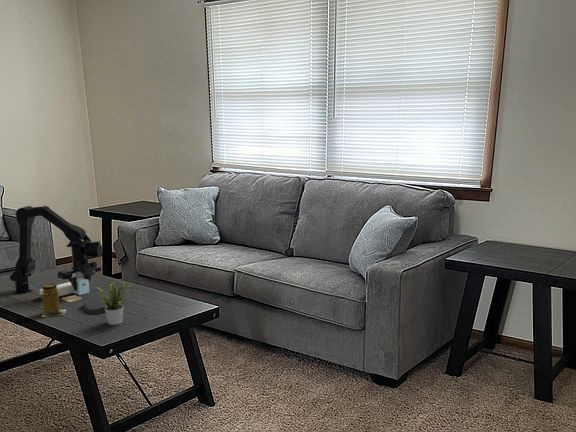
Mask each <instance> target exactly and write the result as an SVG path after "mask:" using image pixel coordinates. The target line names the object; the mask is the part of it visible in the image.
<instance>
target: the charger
mask: <svg viewBox="0 0 576 432" xmlns="http://www.w3.org/2000/svg"><path fill="white" fill-rule="evenodd" d="M76 284H77V291H75V290H74V288H73V292H74V293H73V294H75V295H77V296H82V295H85V294H89V293H90V282H89V280H88V279H85V278H84V277H81V278H77V279H76Z"/></svg>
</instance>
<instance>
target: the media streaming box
mask: <svg viewBox="0 0 576 432" xmlns="http://www.w3.org/2000/svg"><path fill="white" fill-rule="evenodd" d="M103 296H104V297H105V295H103ZM103 296H97V297H93V298H90V299H88V300H84V302H83V308H84V310H85V311H86V313H87V314H89V315H90V314H91V315H97V314H106V312H105V307H106V306H107V305H106V304H105V303H104V302H103V303H101V301H99V300H104V299H103ZM107 296H108V297H109V299H110V295H107ZM105 298H106V297H105ZM121 298H122V297H121ZM121 298H120V299H121ZM106 299H107V298H106ZM110 300H111V299H110ZM104 301H105V300H104ZM107 301H108V299H107ZM120 301H123V299H121V300H120ZM108 302H109V301H108ZM109 303H110V302H109ZM119 304H120V305H123V306H124V301H123V302H122V303H119ZM110 305H111V303H110Z"/></svg>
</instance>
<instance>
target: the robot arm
mask: <svg viewBox="0 0 576 432" xmlns="http://www.w3.org/2000/svg"><path fill="white" fill-rule="evenodd" d="M40 216H41V217H42V218H44V219H46V221H48V222H50V224H52V225H53V226H55V227H56V228H57V229H59V230H61V232H62V233H63V234H64V235H65V238H67V239H68V240H69V243H68V244H66V247H67V248H71V258H70V261H71V262H72V266H71V270H68V269H63V270H60V271H58V273H57V278H58V279H60V280H61V279H62V280H68V282H70V283H71V284H72V286H73V288H74V290H75V291H77V284H76V279H78V277H77V276H76V275H78V274H82V275H83V278H85V279H88V280H89V283H90V281H91V278H92V277H93V276H94V275H95V274H96V273H98V272H101V271H102V266H101V265H100V264H98V263H97V262H96V261H92V262H89V259H88V258H87V257H99V258H100V257H101V256H102V255H103V251H104V248H103V246H102V244H101V241H100V240H99V241H98V240H97V241H92V240H91V238H90V237H89V236H88V235H87V234H86V230H85V229H84V228H82V227H80V226H78V225H76V224H72V223H70V222H69V221H67V220H66V219H65V218H63V217H62V216H60V215H59V214H58V213H56V212H55V211H54V210H53V209H51V208H50V206H49V205H43V206H35V207H33V206H32V205H27V206H23V207H19V208H17V210H16V211H15V218H16V222H17V224H18V226H19V239H18V240H19V245H18V246H19V247H18V249H19V250H18V258H17V261H16V262H15V267H14V271H13V272H12V274H11V275H9V278H10V281H11V282H14V289H12V293H15V294H18V295H20V294H25V293H28V292H32V291H33V289H32V288H30V285H29V284H30V283H29V277H31V276H32V275H33V274H32V273H33V272H34V271H35V269H36V262H37V261H36V259H33V258H32V256H31V255H32V226H33V224H34V222H35V219H36V217H40ZM86 256H87V257H86Z"/></svg>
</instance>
